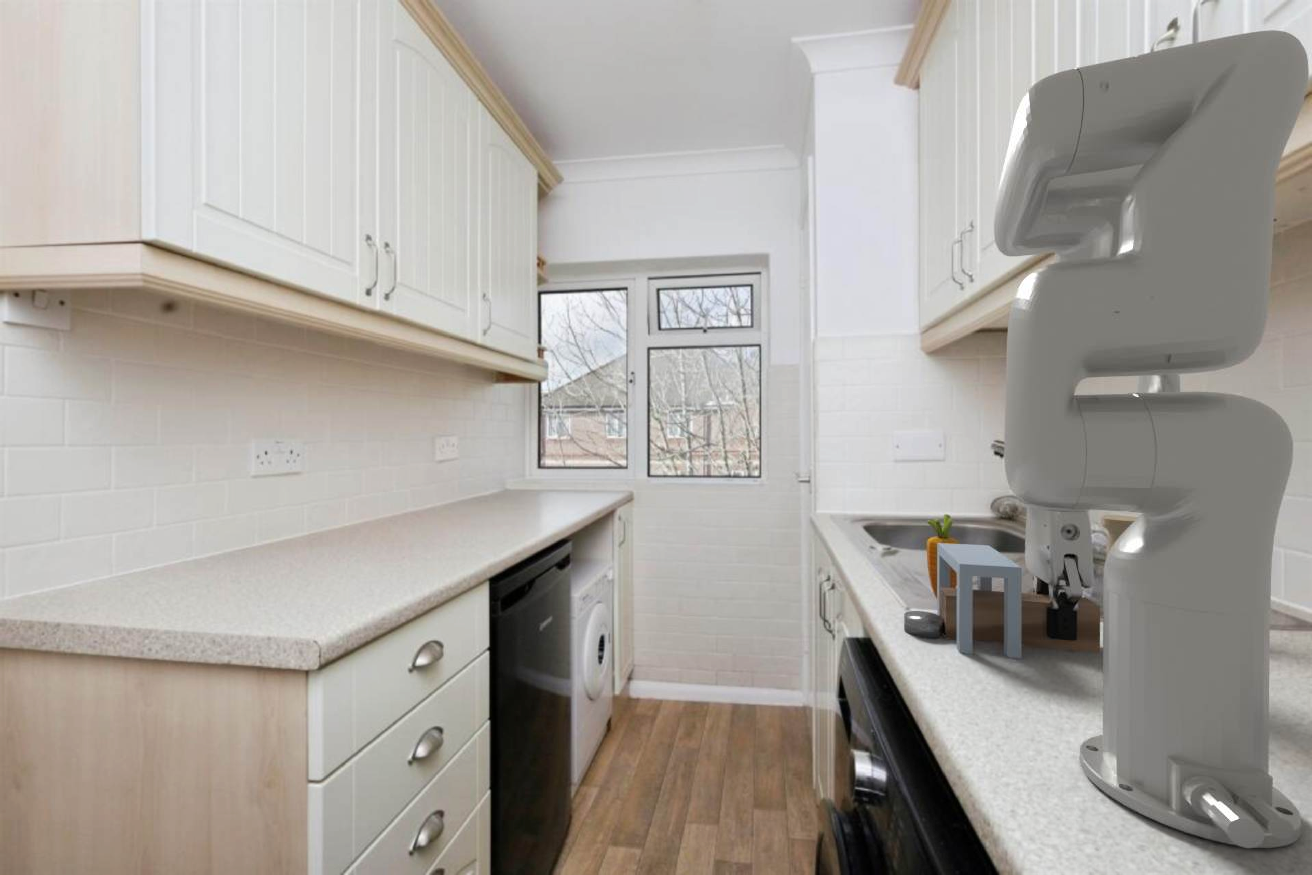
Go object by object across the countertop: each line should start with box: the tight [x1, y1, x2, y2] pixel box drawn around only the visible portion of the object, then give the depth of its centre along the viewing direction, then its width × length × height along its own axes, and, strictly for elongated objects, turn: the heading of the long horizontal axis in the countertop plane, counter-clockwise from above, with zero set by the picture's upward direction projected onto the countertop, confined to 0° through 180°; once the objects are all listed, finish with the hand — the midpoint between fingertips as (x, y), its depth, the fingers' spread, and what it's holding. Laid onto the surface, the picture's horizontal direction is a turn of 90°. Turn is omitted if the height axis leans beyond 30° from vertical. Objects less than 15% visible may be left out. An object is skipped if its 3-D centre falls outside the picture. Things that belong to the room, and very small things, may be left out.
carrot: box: [926, 513, 961, 599], centre depth 90 cm, size 5×5×15 cm
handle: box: [1100, 514, 1138, 556], centre depth 87 cm, size 5×6×15 cm
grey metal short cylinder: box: [903, 610, 944, 640], centre depth 79 cm, size 5×5×2 cm
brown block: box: [940, 587, 1101, 653], centre depth 76 cm, size 4×18×6 cm, turn 74°
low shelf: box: [936, 543, 1023, 660], centre depth 77 cm, size 14×7×12 cm, turn 164°
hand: (1054, 631), depth 75 cm, fingers closed on brown block, 4 cm apart
